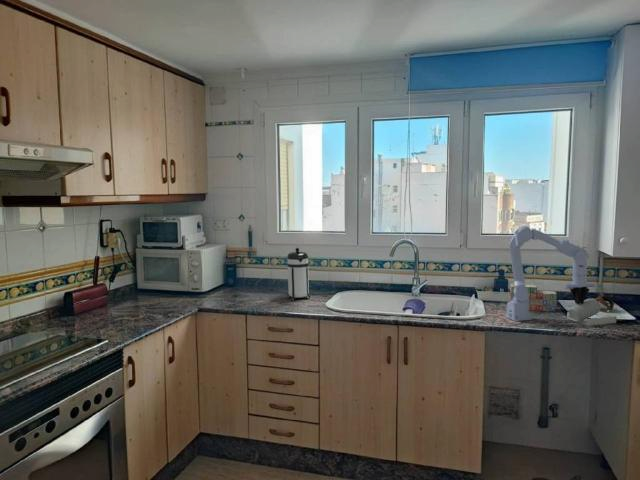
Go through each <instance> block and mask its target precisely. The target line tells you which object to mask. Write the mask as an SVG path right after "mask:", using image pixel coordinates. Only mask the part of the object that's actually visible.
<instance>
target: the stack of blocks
mask: <svg viewBox="0 0 640 480" xmlns="http://www.w3.org/2000/svg"><path fill="white" fill-rule="evenodd" d="M525 286H526V288H527V290H528V292H529V298H528V299H529V311H532V312H533V311H534V312H535V311H537V312H554V313H555V312H557V303H558V302H557V301H558V300H557V292H556V291H555V290H553V291H552V290H538V287H537V285H536V284H525ZM514 287H515V283H511V284H510V290H509V301H512V300H513V298H514V297H515V295H514Z"/></svg>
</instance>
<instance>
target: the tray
mask: <svg viewBox="0 0 640 480" xmlns="http://www.w3.org/2000/svg"><path fill="white" fill-rule="evenodd" d="M595 315H597V316H600V317H601V318H591V319H585V320H583V321H581V322H578V321H575V320H574V319H573V318H572V317H571V315H570V313H569V311H567V313H566V318H567V320H568V319H569V320H571V321H573V322H576V323H579V324H582V325H585V326H587V327H591V326H592V327H593V326H601V325H611V324H616V323H617V316H615V315H612V314H610V313H606V312H603V311H601V310H600V311H599V313H597V314H595Z"/></svg>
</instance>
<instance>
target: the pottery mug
mask: <svg viewBox="0 0 640 480" xmlns="http://www.w3.org/2000/svg"><path fill="white" fill-rule="evenodd" d="M594 299H595V300H597V301H598V303H599V304H600V305H601V304H602V306H604V307H606V310H605V312H606V311H607V310H610V311H613V309H614V305H615V302H614V301H613V300H612V299H611V298H610V297H608V296H605V295H599V296H598V297H595V298H594Z"/></svg>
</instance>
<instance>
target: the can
mask: <svg viewBox="0 0 640 480" xmlns="http://www.w3.org/2000/svg"><path fill="white" fill-rule="evenodd" d="M601 309H602V307H601V303H600V302H598V301H597V300H595V298H587V299H586V298H585V299H584V302H583V304H581V303H580V304H576V303H575V305H573V306H571V307H569V311H568V312H569V313H570V315H571V317H572V318H573V319H574V320H575V321H574V322H576V321H578V322H577V323H579V322H581V321H583V320H585V319H587V318H589V317H591V316H593V315H595V314H597V313H599V311H600V312H601Z"/></svg>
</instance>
